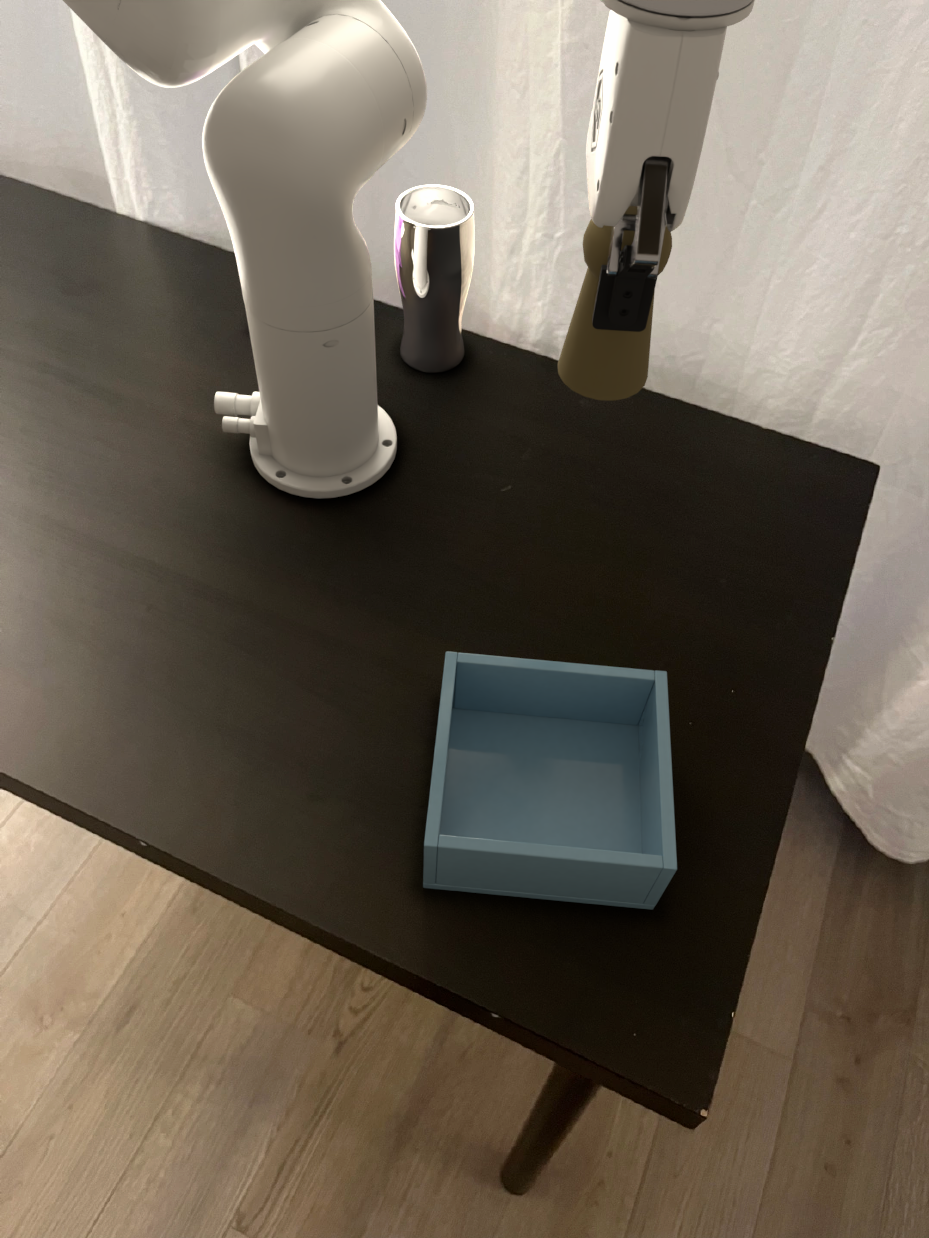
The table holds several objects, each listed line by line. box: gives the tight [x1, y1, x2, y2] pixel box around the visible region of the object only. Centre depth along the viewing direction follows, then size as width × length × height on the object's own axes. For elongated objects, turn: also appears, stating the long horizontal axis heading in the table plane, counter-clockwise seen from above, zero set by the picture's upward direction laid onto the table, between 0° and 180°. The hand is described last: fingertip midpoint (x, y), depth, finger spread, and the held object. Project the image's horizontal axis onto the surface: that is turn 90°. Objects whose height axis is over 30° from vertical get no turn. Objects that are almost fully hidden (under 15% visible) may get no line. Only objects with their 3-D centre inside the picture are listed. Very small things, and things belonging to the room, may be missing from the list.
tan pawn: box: [556, 206, 673, 402], centre depth 59 cm, size 6×6×11 cm
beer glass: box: [393, 184, 476, 374], centre depth 85 cm, size 7×7×15 cm
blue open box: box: [422, 650, 678, 911], centre depth 61 cm, size 15×14×7 cm
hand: (615, 295), depth 59 cm, fingers closed on tan pawn, 5 cm apart
